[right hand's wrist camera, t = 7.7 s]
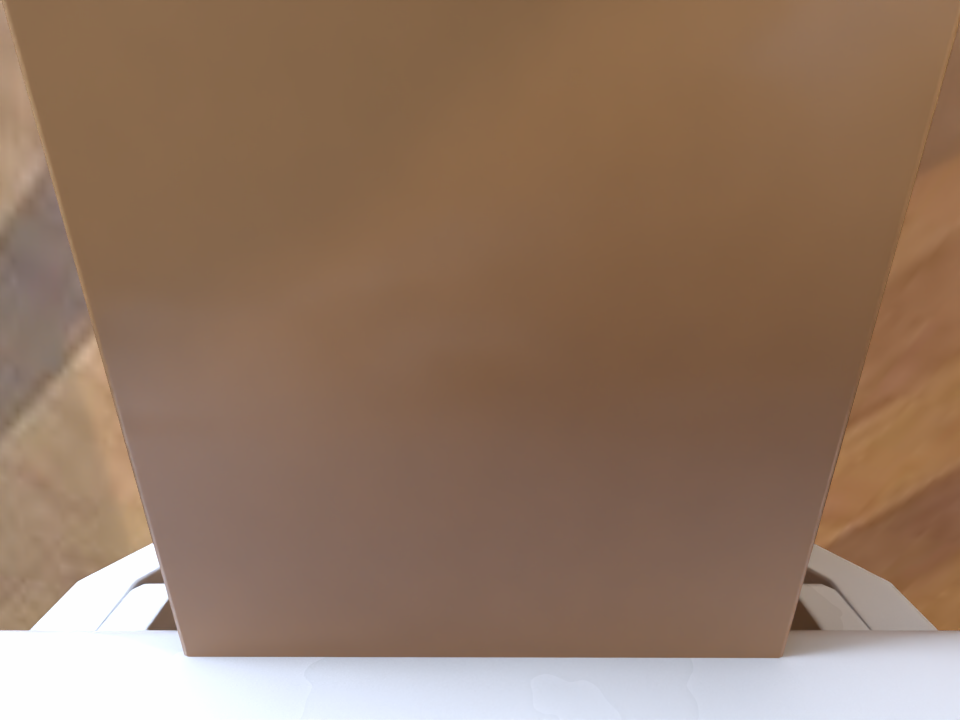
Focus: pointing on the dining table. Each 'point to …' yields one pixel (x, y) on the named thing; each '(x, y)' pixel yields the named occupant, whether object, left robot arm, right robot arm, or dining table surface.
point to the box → (483, 303)
